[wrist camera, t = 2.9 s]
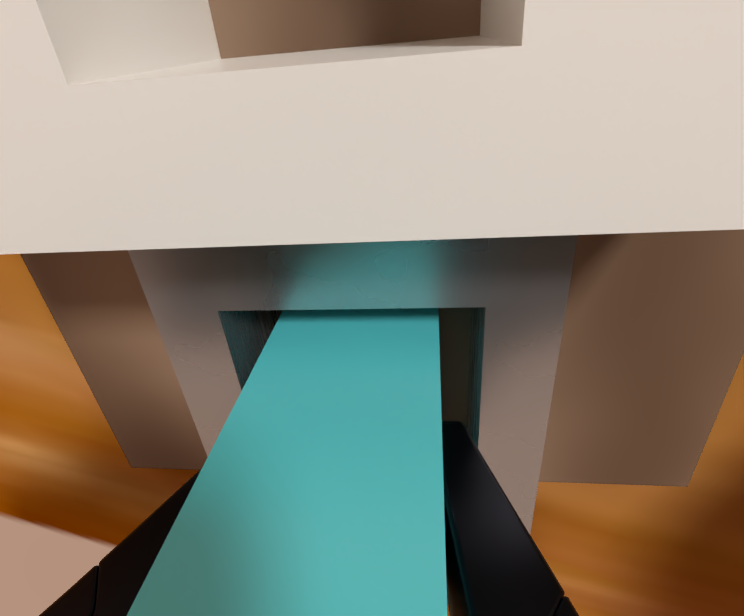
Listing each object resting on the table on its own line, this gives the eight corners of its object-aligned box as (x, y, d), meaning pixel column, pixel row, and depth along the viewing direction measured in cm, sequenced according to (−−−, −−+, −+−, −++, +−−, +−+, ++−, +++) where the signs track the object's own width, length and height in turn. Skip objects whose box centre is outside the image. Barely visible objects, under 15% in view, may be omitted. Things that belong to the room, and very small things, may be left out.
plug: (437, 277, 10) (449, 684, 4) (438, 417, 12) (447, 822, 6) (297, 280, 10) (108, 651, 4) (323, 415, 12) (220, 792, 6)
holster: (541, 180, 9) (578, 232, 6) (510, 465, 13) (526, 555, 10) (195, 197, 9) (126, 247, 7) (269, 458, 13) (239, 540, 11)
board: (1284, -1206, 4) (1551, -1591, 3) (670, 456, 13) (687, 486, 12) (-354, -617, 6) (-492, -729, 5) (148, 442, 15) (131, 467, 14)
